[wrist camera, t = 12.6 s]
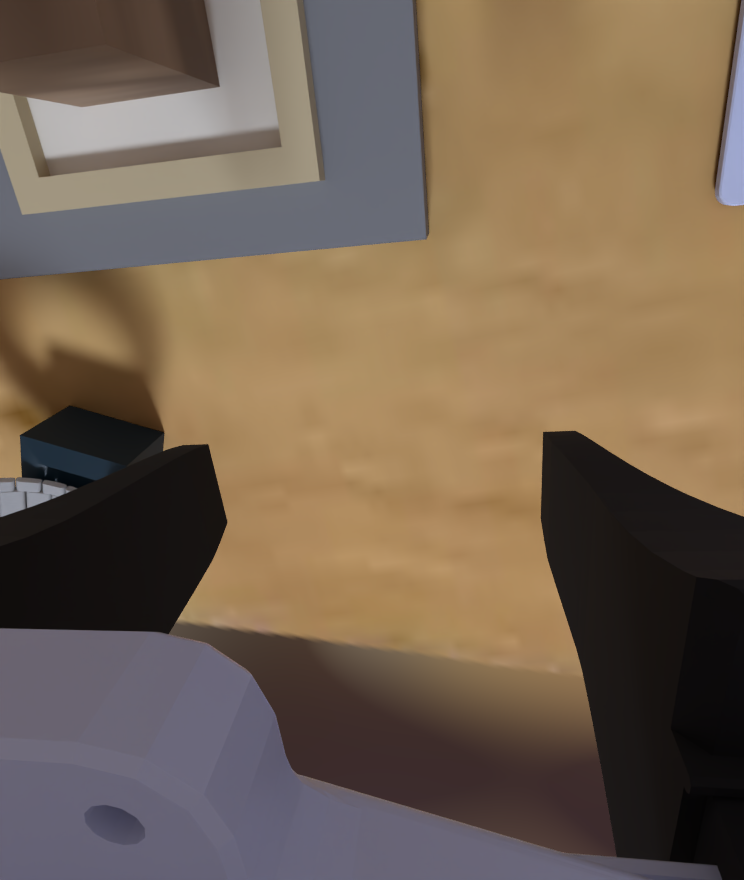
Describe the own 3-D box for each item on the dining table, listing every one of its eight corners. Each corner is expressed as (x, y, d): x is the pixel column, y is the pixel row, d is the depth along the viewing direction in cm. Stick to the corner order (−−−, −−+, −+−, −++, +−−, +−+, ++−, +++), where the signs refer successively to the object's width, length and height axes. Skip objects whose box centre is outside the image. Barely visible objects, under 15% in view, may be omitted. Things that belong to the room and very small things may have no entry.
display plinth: (394, -372, 14) (381, -494, 11) (428, 233, 19) (425, 242, 17) (-151, -223, 16) (-260, -294, 14) (22, 272, 22) (-33, 284, 20)
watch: (27, 393, 24) (-262, 539, 15) (203, 443, 24) (31, 626, 15) (30, 497, 27) (-214, 683, 17) (190, 544, 27) (36, 758, 17)
